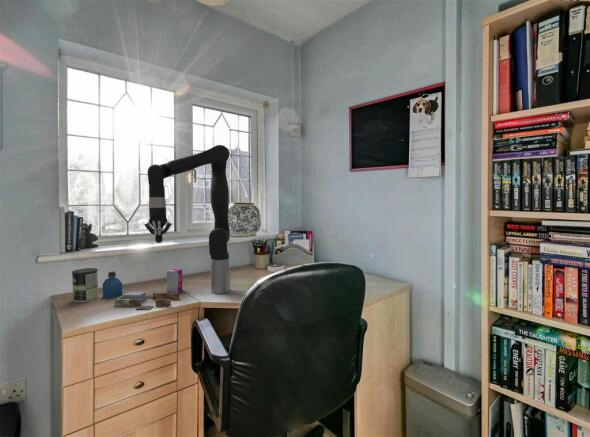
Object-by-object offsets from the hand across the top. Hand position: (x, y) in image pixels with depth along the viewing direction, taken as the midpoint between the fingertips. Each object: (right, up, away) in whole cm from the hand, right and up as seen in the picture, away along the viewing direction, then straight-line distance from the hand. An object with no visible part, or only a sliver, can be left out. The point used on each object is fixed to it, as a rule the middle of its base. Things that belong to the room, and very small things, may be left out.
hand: (159, 242), depth 149 cm
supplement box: (+3, -27, +12) cm, 30 cm away
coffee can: (-35, -28, 0) cm, 45 cm away
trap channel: (-2, -27, -6) cm, 28 cm away
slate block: (-10, -28, -4) cm, 29 cm away
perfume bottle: (-25, -27, +5) cm, 37 cm away
